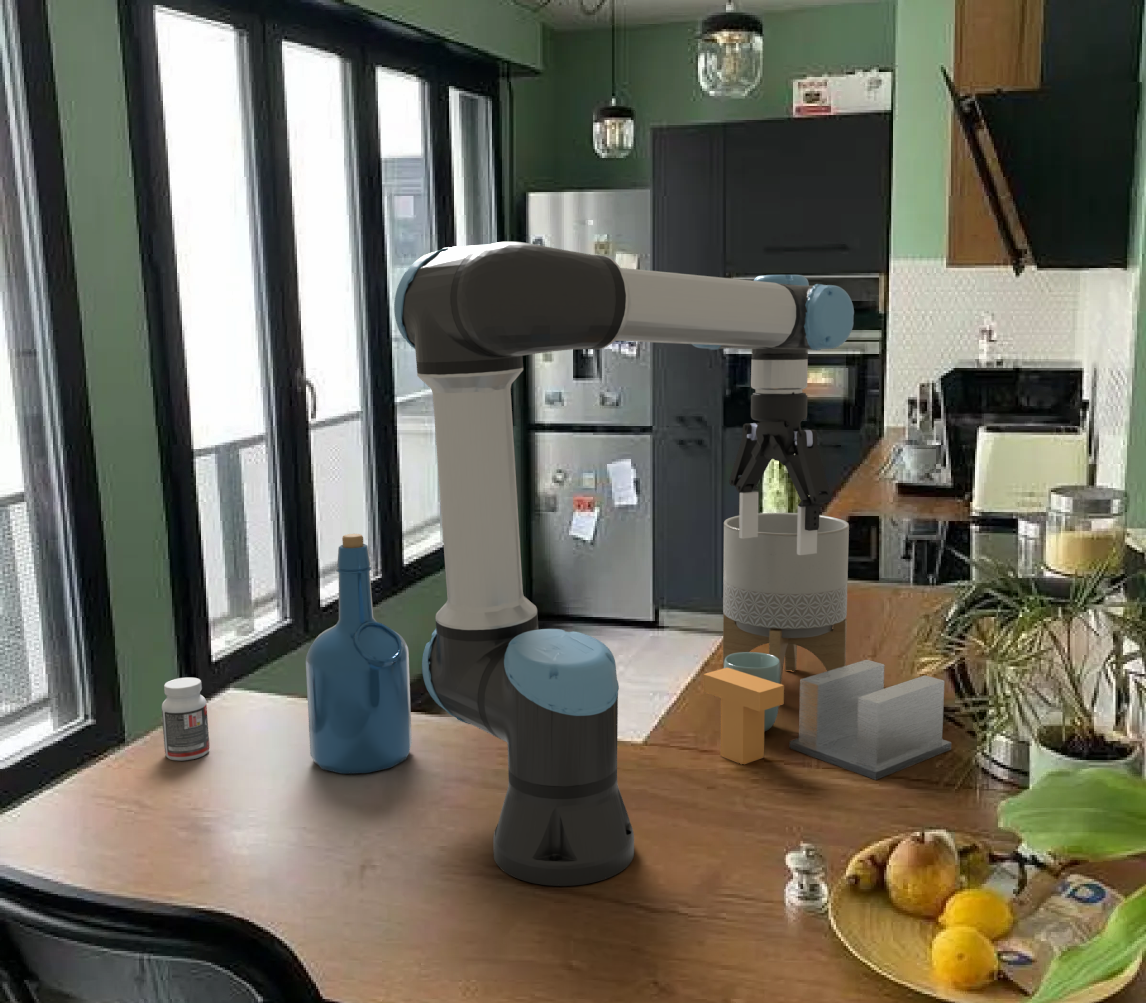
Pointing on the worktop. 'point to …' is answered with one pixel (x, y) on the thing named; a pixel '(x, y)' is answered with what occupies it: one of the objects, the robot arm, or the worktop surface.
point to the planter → (786, 590)
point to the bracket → (870, 719)
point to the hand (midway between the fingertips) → (776, 545)
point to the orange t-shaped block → (742, 711)
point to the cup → (757, 674)
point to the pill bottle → (185, 720)
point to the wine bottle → (358, 679)
